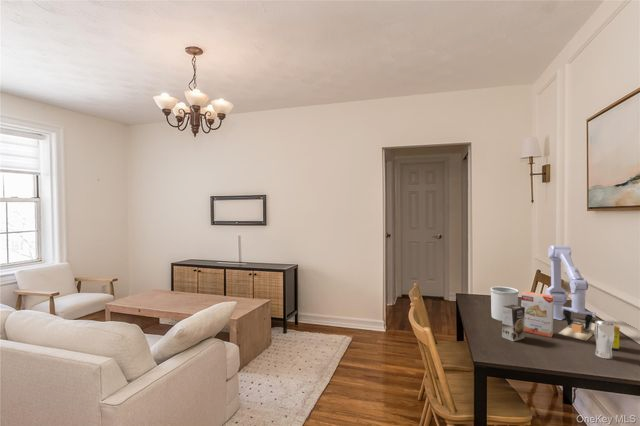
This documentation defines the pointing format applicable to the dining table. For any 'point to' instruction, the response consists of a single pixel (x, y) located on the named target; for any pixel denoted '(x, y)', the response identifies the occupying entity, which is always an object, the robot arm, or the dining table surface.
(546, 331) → the cracker box
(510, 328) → the coffee box
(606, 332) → the beer glass
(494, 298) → the utensil holder
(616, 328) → the supplement box
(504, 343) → the dining table surface
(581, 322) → the housing
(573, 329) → the plug
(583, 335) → the board
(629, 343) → the dining table surface
